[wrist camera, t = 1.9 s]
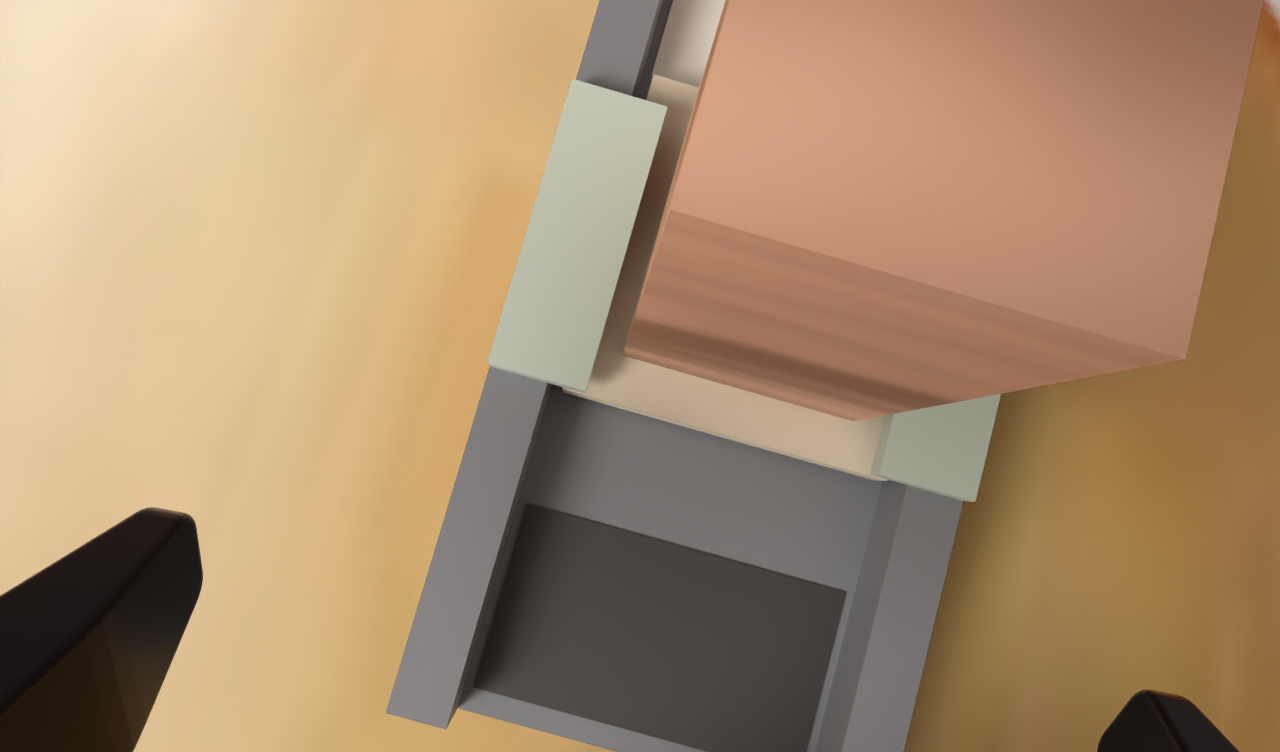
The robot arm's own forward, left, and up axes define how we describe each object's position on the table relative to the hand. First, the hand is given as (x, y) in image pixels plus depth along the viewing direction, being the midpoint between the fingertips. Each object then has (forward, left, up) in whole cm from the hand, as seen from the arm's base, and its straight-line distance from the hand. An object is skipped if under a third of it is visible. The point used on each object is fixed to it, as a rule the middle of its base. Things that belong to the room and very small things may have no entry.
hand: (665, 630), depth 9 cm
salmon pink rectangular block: (+5, -4, -12) cm, 13 cm away
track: (+4, -4, -13) cm, 15 cm away
